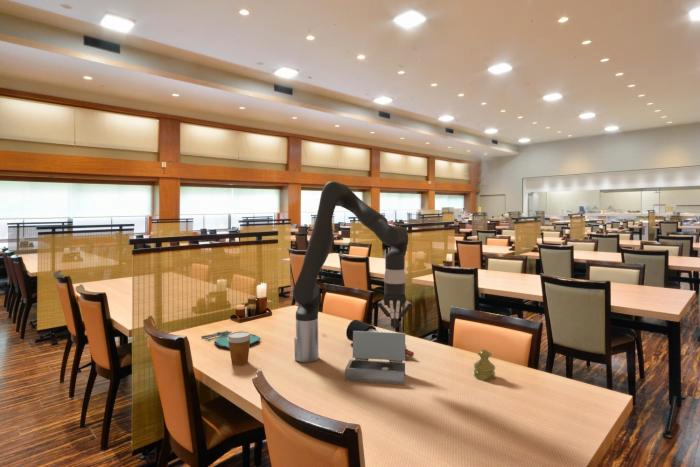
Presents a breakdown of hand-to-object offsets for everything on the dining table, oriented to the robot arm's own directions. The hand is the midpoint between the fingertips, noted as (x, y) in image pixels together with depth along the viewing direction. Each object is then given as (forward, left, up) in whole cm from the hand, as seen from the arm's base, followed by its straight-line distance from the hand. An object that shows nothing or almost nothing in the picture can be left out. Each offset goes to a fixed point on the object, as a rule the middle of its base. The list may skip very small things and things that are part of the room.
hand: (394, 327), depth 146 cm
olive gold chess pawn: (+33, +6, -19) cm, 38 cm away
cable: (-8, +28, -19) cm, 35 cm away
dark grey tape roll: (-3, -1, -19) cm, 19 cm away
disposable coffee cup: (-63, +4, -19) cm, 66 cm away
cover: (-6, +4, -9) cm, 12 cm away
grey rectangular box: (-6, -1, -19) cm, 20 cm away
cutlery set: (-80, +31, -19) cm, 88 cm away
